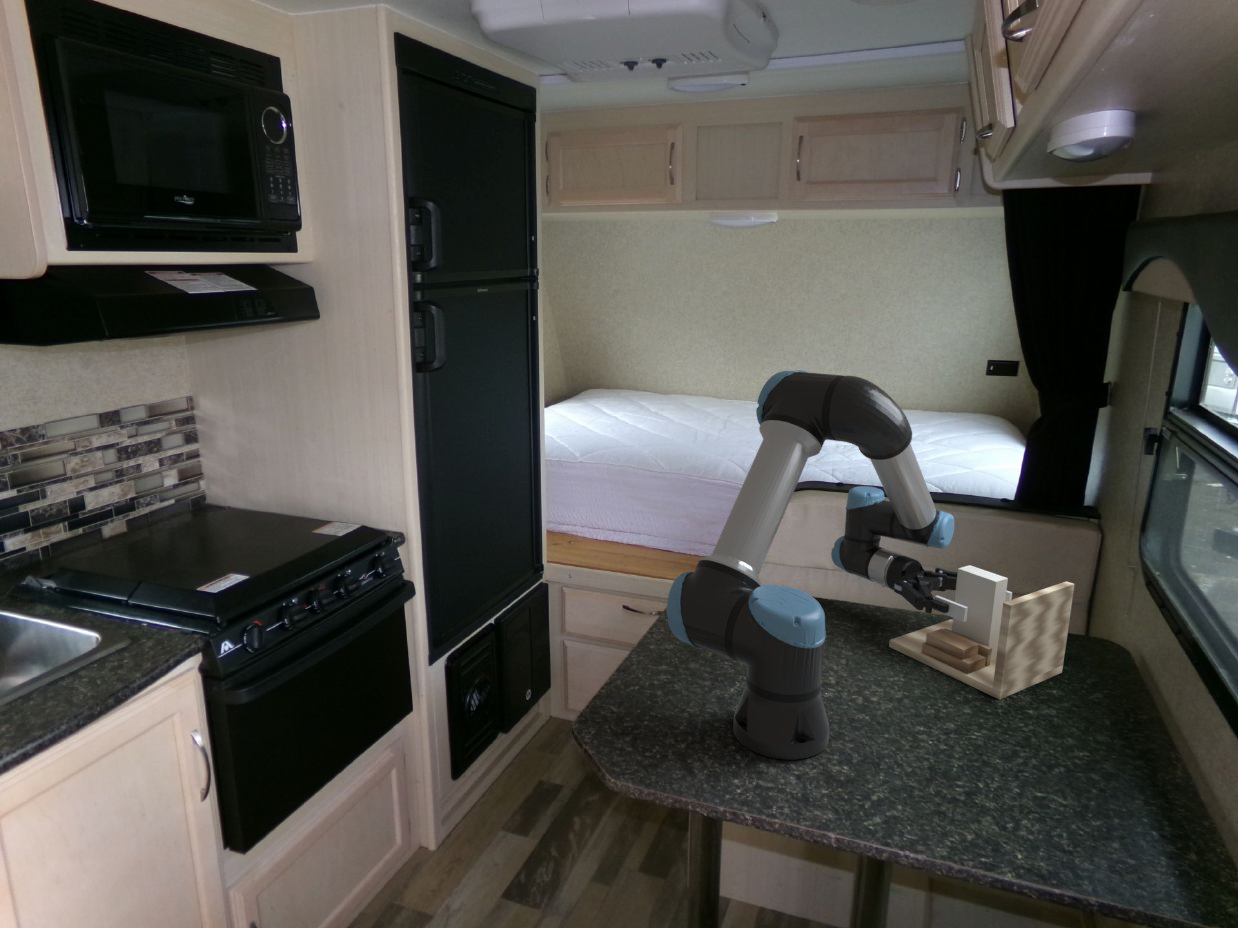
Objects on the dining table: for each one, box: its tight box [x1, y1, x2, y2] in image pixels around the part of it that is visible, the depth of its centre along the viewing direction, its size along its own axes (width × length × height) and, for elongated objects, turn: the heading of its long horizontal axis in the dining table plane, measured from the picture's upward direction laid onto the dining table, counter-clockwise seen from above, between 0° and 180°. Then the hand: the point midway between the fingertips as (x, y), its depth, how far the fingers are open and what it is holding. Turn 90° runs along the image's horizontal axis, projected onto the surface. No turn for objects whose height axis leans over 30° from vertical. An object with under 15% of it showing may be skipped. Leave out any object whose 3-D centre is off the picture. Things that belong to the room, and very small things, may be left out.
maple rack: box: [888, 581, 1076, 700], centre depth 156 cm, size 19×24×18 cm
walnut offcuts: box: [922, 629, 986, 674], centre depth 154 cm, size 5×10×4 cm, turn 32°
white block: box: [951, 565, 1009, 661], centre depth 156 cm, size 4×8×16 cm, turn 32°
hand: (988, 606), depth 154 cm, fingers open, 13 cm apart
